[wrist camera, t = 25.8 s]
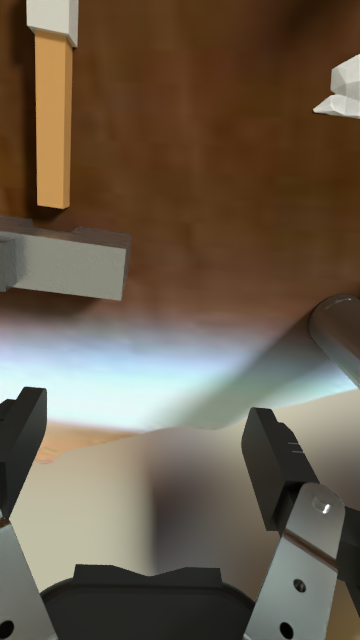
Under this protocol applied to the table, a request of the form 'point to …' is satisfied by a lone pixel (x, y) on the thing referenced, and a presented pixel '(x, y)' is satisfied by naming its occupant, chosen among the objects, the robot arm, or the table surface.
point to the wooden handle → (53, 95)
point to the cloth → (344, 91)
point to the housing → (63, 259)
